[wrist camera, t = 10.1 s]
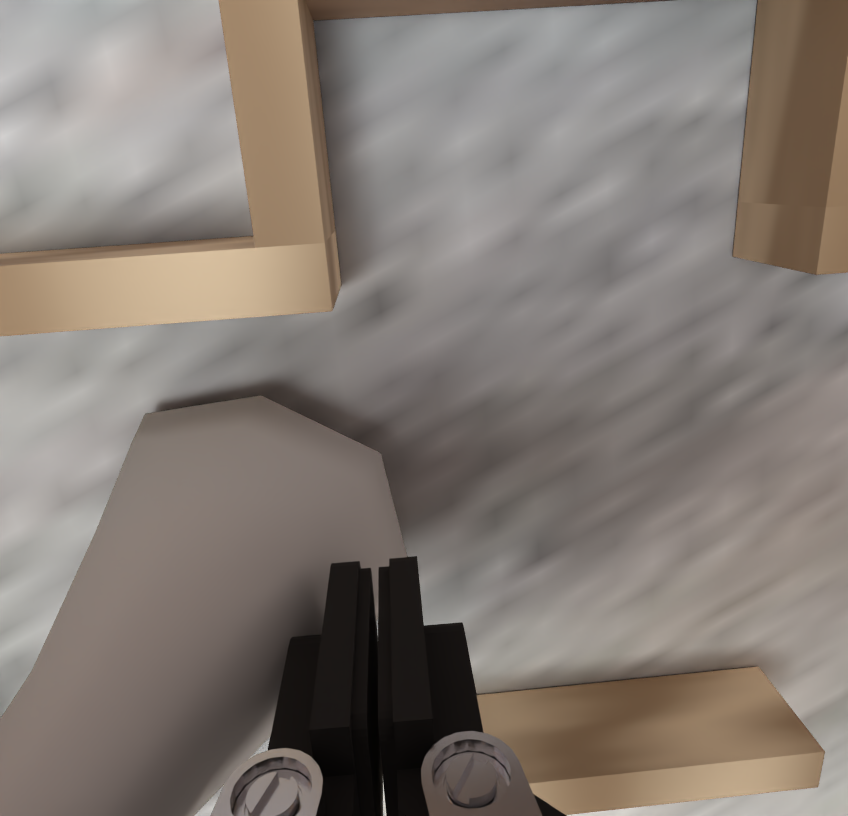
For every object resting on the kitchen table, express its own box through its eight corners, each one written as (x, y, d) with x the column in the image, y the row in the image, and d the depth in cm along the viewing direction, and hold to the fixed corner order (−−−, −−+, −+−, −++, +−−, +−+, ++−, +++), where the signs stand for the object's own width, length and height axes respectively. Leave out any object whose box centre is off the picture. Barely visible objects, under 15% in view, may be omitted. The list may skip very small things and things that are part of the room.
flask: (428, 416, 14) (231, 953, 5) (396, 671, 17) (238, 1315, 7) (111, 365, 14) (-605, 747, 5) (133, 619, 17) (-310, 1151, 8)
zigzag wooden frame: (863, -81, 13) (1002, -154, 10) (730, 865, 22) (782, 967, 19) (-366, -18, 12) (-600, -80, 9) (31, 945, 21) (-24, 1066, 18)
